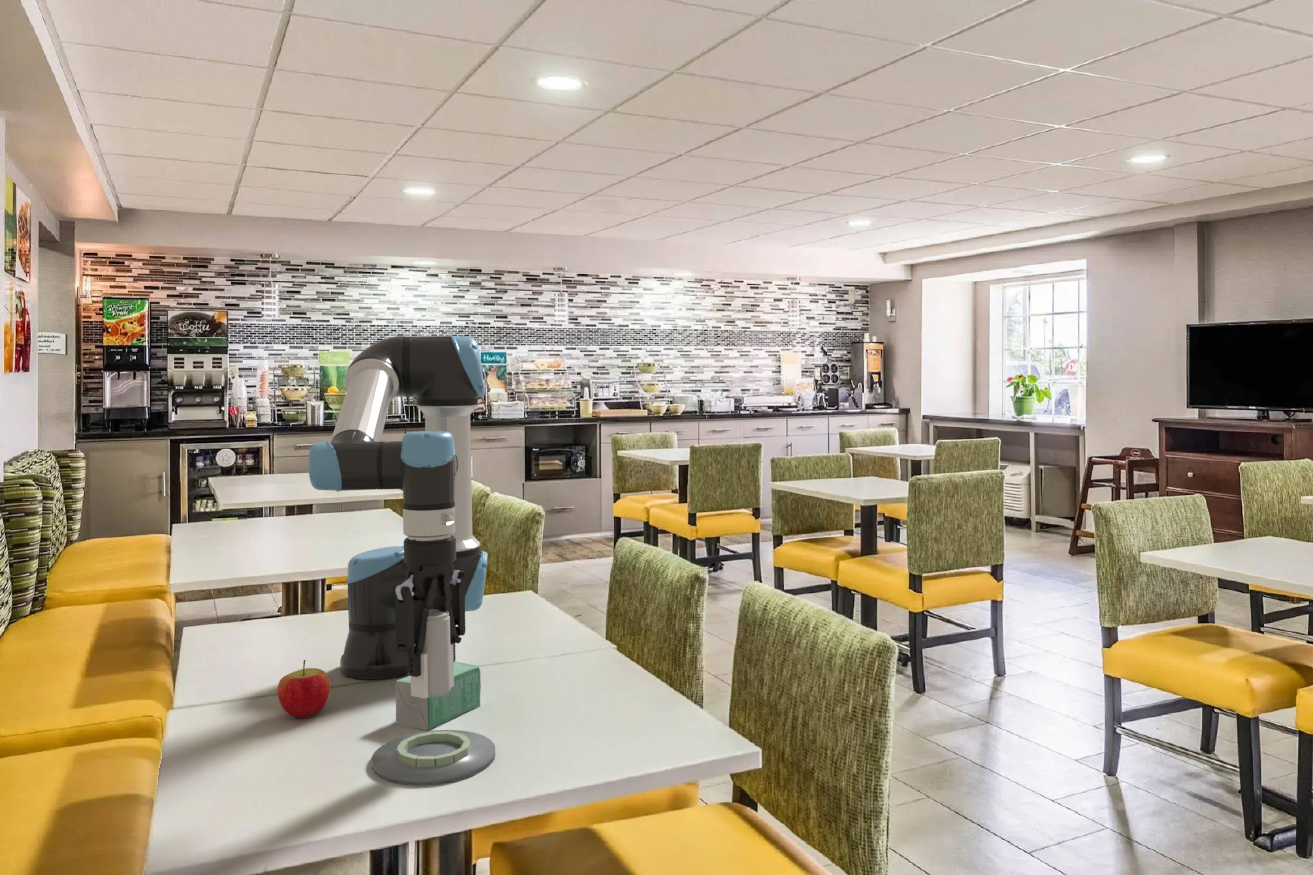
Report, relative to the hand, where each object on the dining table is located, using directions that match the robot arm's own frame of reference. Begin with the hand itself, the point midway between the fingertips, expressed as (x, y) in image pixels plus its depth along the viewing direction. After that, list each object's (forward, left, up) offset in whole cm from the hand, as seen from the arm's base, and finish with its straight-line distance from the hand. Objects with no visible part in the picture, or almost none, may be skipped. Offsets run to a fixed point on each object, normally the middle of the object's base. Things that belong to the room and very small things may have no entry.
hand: (432, 690), depth 142 cm
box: (-12, +15, -11) cm, 22 cm away
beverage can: (0, 0, 0) cm, 1 cm away
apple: (-32, +3, -11) cm, 34 cm away
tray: (0, 0, -11) cm, 11 cm away
